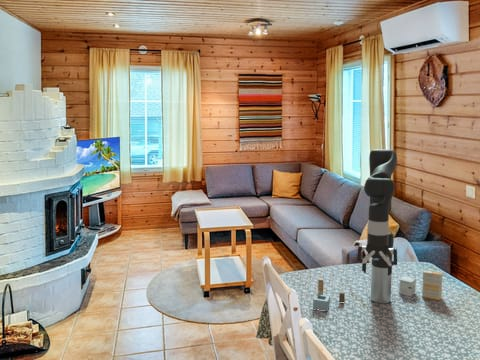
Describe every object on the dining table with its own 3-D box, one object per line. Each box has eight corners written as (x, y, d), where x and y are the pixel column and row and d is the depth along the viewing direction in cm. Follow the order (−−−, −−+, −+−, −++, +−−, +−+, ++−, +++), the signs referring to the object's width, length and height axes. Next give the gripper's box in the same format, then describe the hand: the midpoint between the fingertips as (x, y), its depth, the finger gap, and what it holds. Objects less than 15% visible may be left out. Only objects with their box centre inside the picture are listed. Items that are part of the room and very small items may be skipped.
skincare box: (398, 293, 219) (399, 279, 218) (403, 289, 224) (403, 275, 222) (411, 296, 215) (411, 282, 214) (415, 292, 220) (416, 278, 219)
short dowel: (339, 301, 211) (339, 292, 211) (344, 301, 211) (344, 292, 210) (338, 303, 209) (339, 294, 208) (344, 303, 208) (344, 294, 208)
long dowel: (318, 298, 215) (318, 278, 213) (323, 298, 214) (323, 279, 212) (317, 300, 213) (317, 280, 211) (322, 300, 212) (322, 280, 210)
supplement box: (441, 297, 214) (443, 271, 212) (440, 301, 210) (441, 274, 208) (423, 294, 218) (424, 268, 216) (421, 297, 214) (422, 271, 212)
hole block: (315, 304, 208) (315, 293, 208) (329, 306, 206) (329, 295, 205) (313, 309, 202) (313, 299, 202) (327, 311, 200) (327, 301, 199)
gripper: (398, 230, 165) (396, 272, 168) (359, 227, 170) (358, 268, 173) (398, 236, 158) (396, 279, 161) (357, 232, 163) (356, 275, 166)
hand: (376, 273), depth 167 cm, fingers open, 8 cm apart
